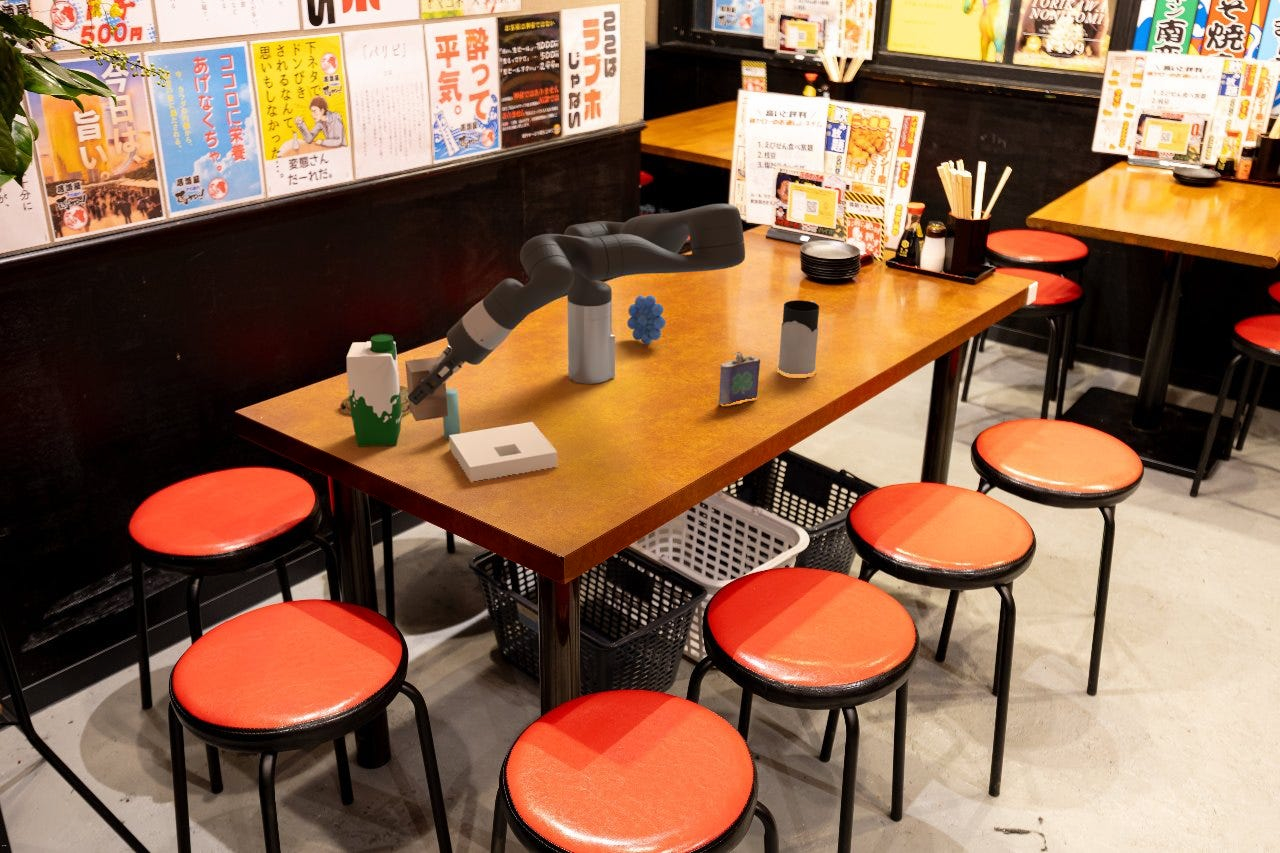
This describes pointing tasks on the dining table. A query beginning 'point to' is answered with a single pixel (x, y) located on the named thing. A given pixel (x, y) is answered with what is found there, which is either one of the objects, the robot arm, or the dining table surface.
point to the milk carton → (374, 391)
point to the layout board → (502, 451)
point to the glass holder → (799, 337)
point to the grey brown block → (432, 403)
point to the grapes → (646, 319)
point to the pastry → (404, 403)
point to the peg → (451, 414)
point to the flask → (739, 379)
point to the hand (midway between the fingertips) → (418, 391)
